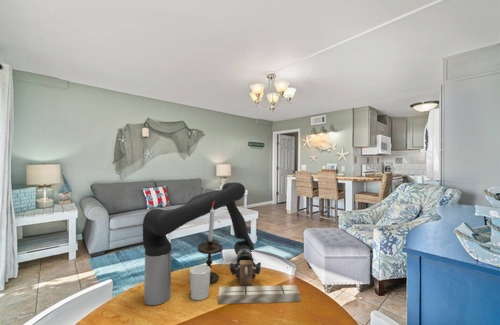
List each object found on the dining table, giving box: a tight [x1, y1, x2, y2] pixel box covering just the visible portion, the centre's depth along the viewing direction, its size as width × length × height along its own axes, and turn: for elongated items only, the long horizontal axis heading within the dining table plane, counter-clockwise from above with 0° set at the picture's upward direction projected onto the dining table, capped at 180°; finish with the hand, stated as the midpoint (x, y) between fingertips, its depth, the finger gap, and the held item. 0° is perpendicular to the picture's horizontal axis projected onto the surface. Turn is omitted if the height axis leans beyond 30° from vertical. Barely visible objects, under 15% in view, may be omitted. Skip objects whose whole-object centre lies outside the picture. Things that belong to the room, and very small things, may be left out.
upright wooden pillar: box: [239, 260, 253, 286], centre depth 88 cm, size 5×9×11 cm, turn 3°
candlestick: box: [197, 200, 223, 285], centre depth 99 cm, size 11×11×35 cm
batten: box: [217, 284, 301, 305], centre depth 85 cm, size 30×6×3 cm, turn 93°
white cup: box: [189, 264, 211, 301], centre depth 86 cm, size 8×8×10 cm
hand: (246, 276), depth 88 cm, fingers closed on upright wooden pillar, 5 cm apart
